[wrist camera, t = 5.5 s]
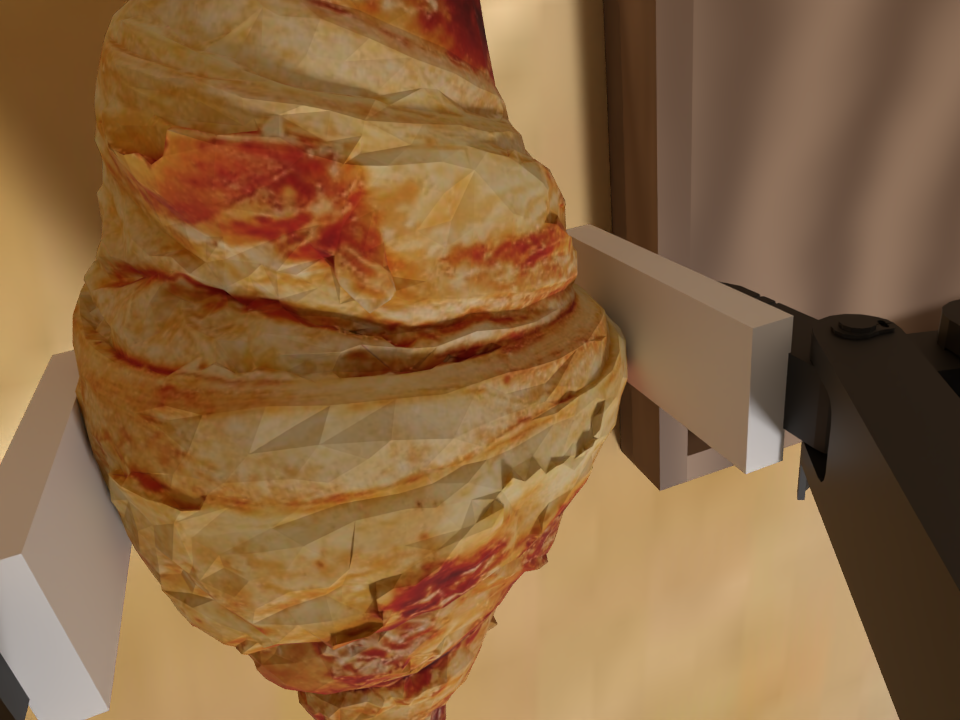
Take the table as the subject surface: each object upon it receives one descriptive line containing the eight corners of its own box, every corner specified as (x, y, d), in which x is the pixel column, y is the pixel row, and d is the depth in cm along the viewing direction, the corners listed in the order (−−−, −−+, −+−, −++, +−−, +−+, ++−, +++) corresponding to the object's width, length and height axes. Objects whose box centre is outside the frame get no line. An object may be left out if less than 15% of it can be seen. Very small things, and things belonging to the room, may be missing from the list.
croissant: (110, -218, 13) (-449, -535, 6) (648, -276, 12) (746, -778, 5) (281, 627, 22) (131, 912, 15) (608, 651, 20) (621, 981, 13)
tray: (621, 450, 30) (660, 490, 27) (579, -602, 16) (649, -724, 13) (989, 330, 34) (1052, 355, 32) (1198, -556, 21) (1337, -638, 18)
